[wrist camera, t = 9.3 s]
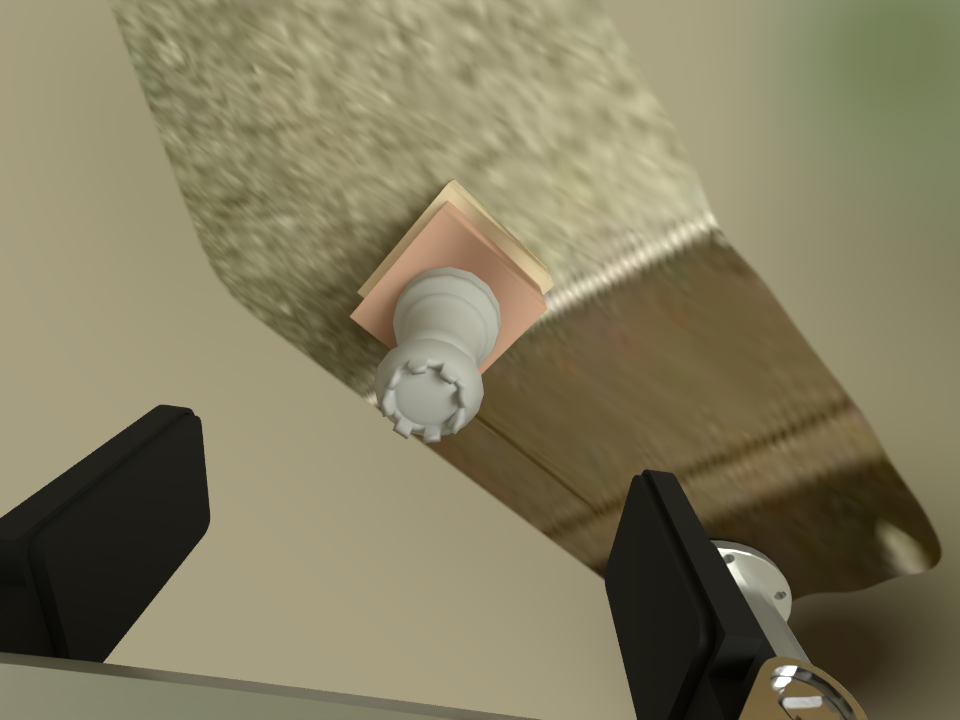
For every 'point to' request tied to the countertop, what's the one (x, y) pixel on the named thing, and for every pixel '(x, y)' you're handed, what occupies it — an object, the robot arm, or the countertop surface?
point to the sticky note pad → (466, 246)
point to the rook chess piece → (438, 353)
